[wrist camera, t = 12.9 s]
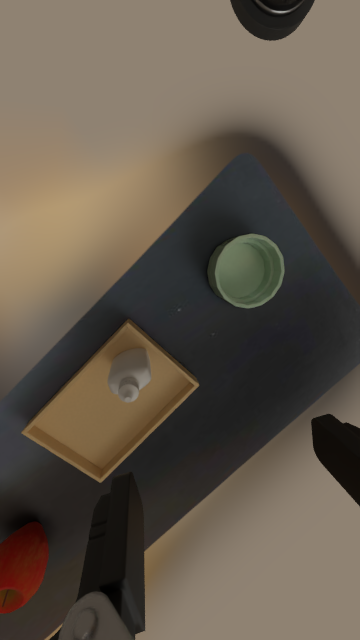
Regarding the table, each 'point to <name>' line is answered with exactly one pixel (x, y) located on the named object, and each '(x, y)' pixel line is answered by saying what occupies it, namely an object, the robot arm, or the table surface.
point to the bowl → (246, 270)
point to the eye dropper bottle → (129, 373)
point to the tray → (109, 407)
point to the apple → (22, 565)
